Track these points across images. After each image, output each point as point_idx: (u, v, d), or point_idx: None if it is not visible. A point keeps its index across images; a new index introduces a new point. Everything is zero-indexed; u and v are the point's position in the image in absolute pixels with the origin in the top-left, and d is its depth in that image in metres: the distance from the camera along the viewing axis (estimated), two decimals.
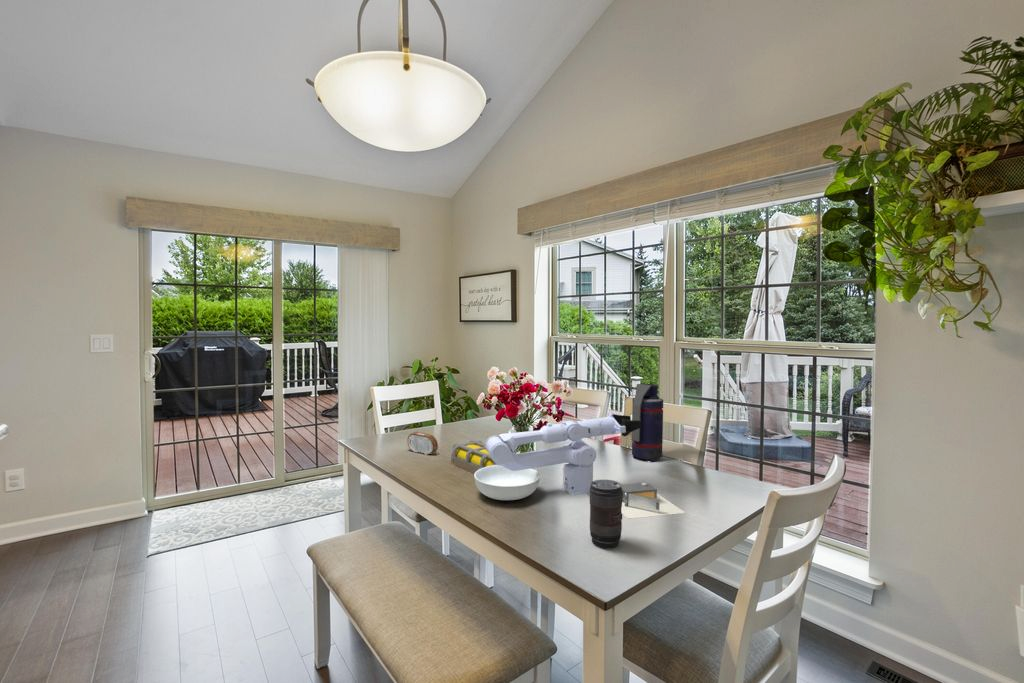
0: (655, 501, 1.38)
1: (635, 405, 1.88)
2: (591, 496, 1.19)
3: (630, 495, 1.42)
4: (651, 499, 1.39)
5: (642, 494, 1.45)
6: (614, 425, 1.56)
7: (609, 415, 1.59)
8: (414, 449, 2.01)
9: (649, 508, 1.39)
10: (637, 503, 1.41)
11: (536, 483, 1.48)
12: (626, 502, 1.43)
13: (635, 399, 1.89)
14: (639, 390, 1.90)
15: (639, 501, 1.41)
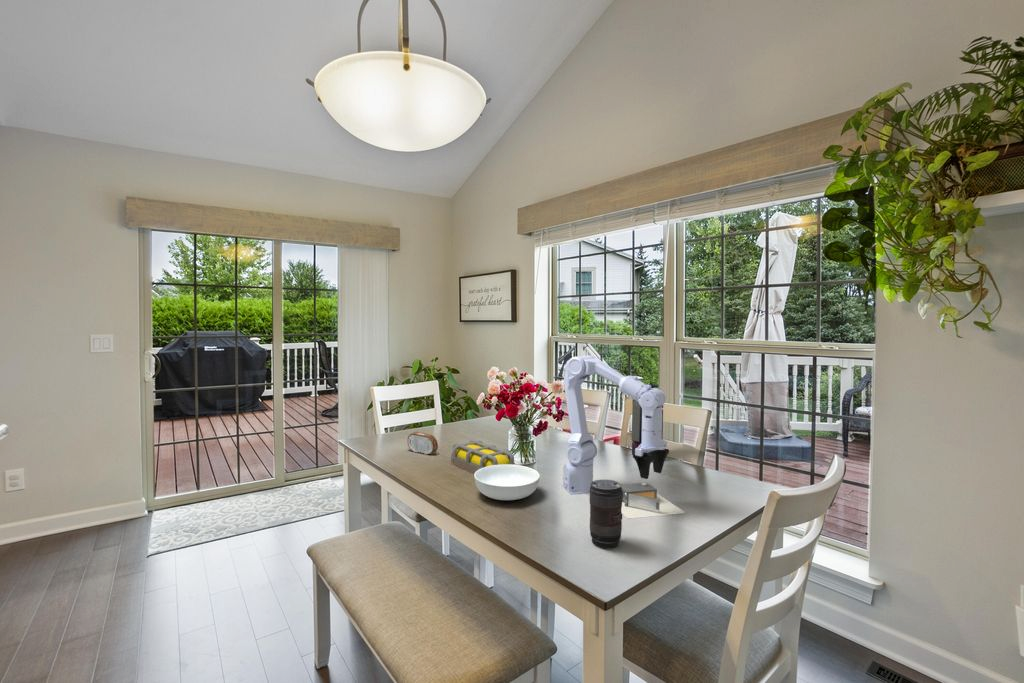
0: (655, 501, 1.38)
1: (635, 405, 1.88)
2: (591, 496, 1.19)
3: (630, 495, 1.42)
4: (651, 499, 1.39)
5: (642, 494, 1.45)
6: (647, 447, 1.39)
7: (661, 446, 1.39)
8: (414, 449, 2.01)
9: (649, 508, 1.39)
10: (637, 503, 1.41)
11: (536, 483, 1.48)
12: (626, 502, 1.43)
13: None
14: None
15: (639, 501, 1.41)
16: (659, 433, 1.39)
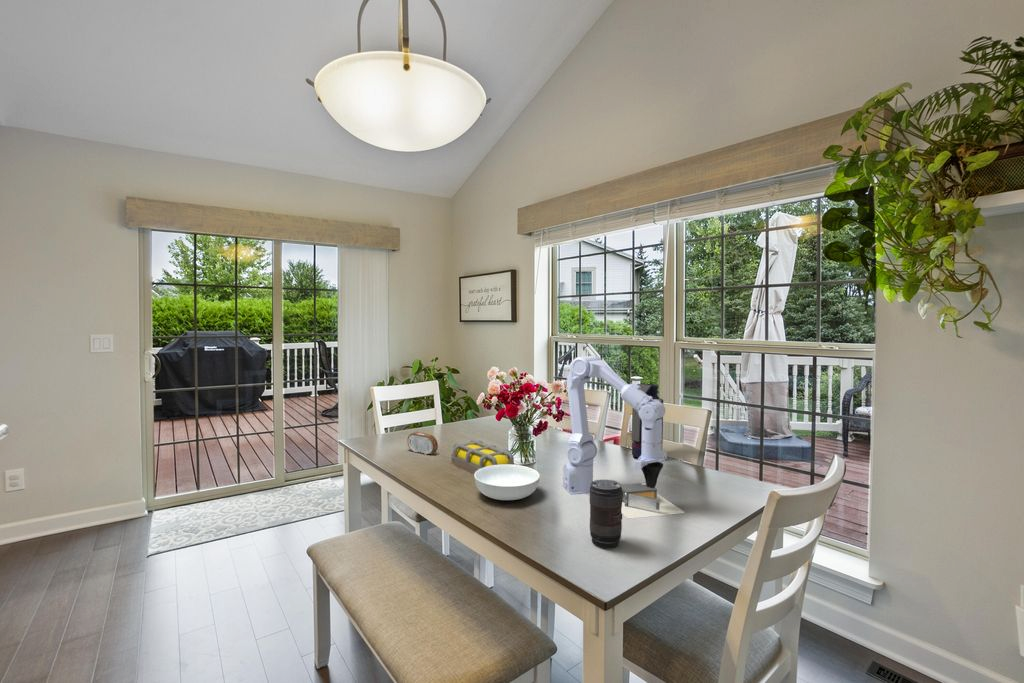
0: (655, 501, 1.38)
1: None
2: (591, 496, 1.19)
3: (630, 495, 1.42)
4: (651, 499, 1.39)
5: (642, 494, 1.45)
6: (647, 459, 1.39)
7: (661, 458, 1.39)
8: (414, 449, 2.01)
9: (649, 508, 1.39)
10: (637, 503, 1.41)
11: (536, 483, 1.48)
12: (626, 502, 1.43)
13: None
14: None
15: (639, 501, 1.41)
16: (659, 445, 1.39)
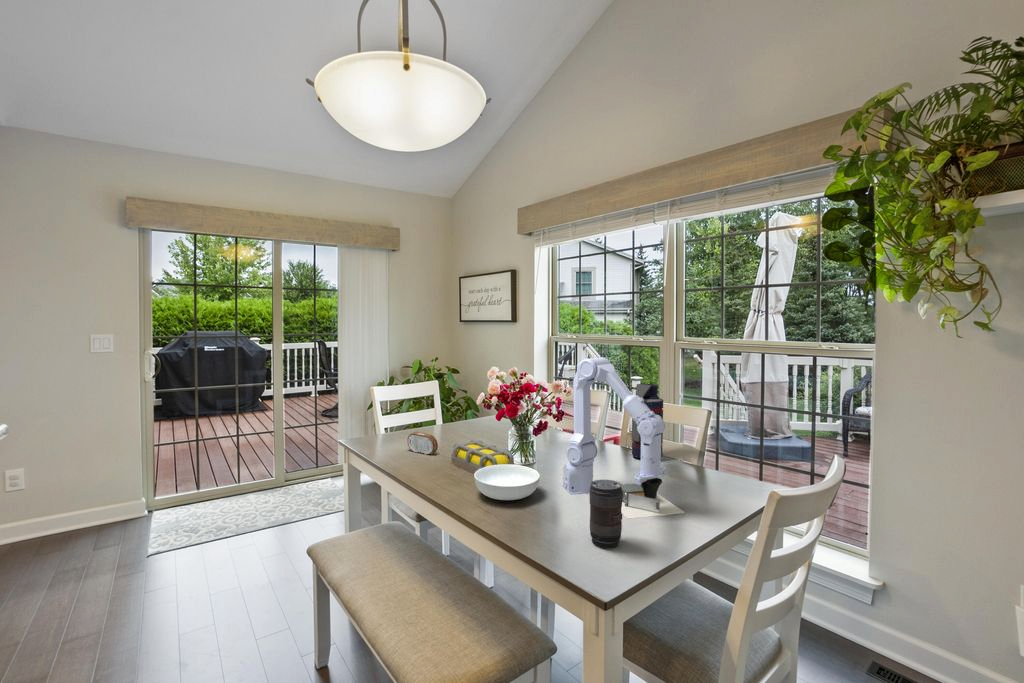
0: (655, 501, 1.38)
1: None
2: (591, 496, 1.19)
3: (630, 495, 1.42)
4: (651, 499, 1.39)
5: (642, 494, 1.45)
6: (646, 475, 1.38)
7: (660, 474, 1.38)
8: (414, 449, 2.01)
9: (649, 508, 1.39)
10: (637, 504, 1.41)
11: (536, 483, 1.48)
12: (626, 502, 1.43)
13: None
14: (639, 390, 1.90)
15: (639, 501, 1.41)
16: (658, 461, 1.38)
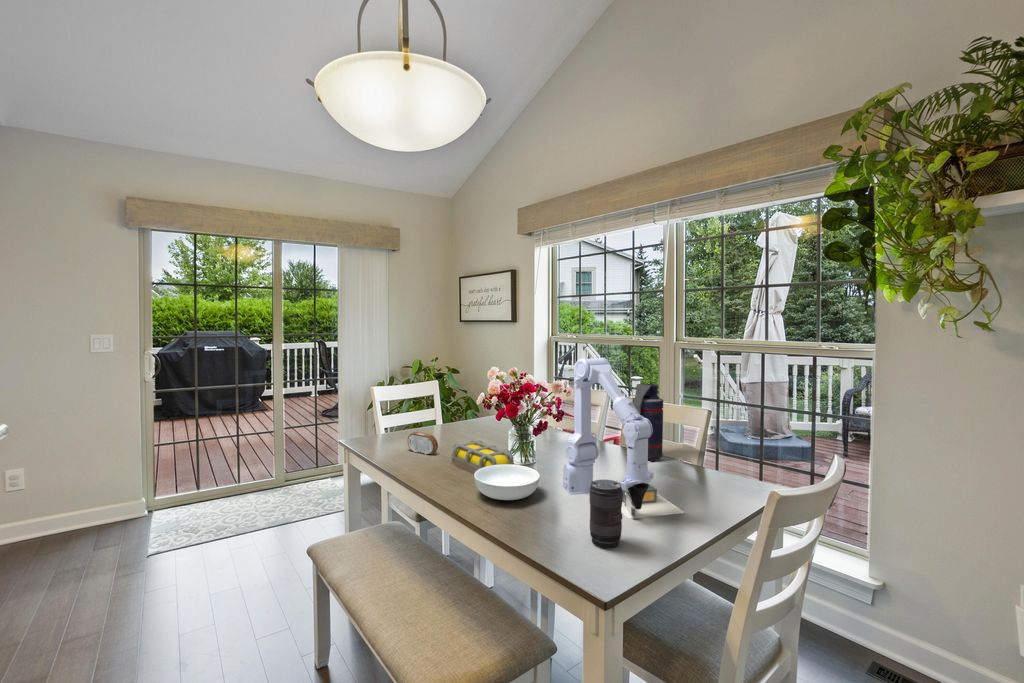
0: (631, 506, 1.34)
1: (635, 405, 1.88)
2: (591, 496, 1.19)
3: (626, 495, 1.42)
4: (631, 503, 1.36)
5: None
6: (633, 480, 1.34)
7: (647, 479, 1.34)
8: (414, 449, 2.01)
9: (630, 512, 1.36)
10: (627, 505, 1.40)
11: (536, 483, 1.48)
12: (625, 502, 1.43)
13: (635, 399, 1.89)
14: (639, 390, 1.90)
15: (628, 503, 1.39)
16: (645, 465, 1.33)
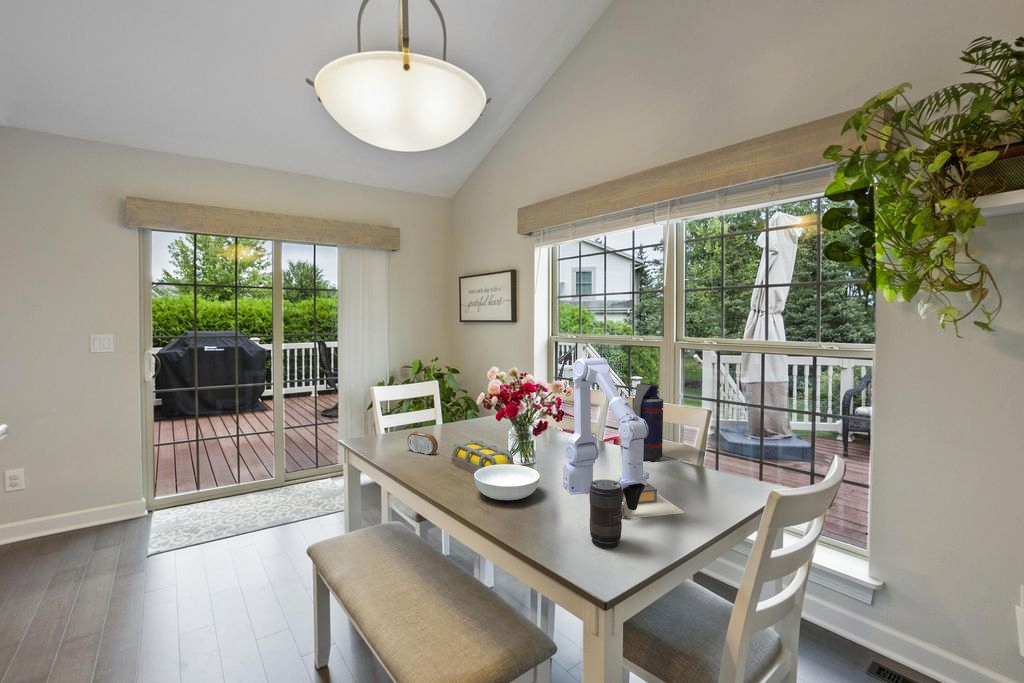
0: (622, 505, 1.35)
1: (635, 405, 1.88)
2: (591, 496, 1.19)
3: None
4: (622, 503, 1.36)
5: (642, 494, 1.45)
6: (628, 480, 1.33)
7: (643, 479, 1.34)
8: (414, 449, 2.01)
9: None
10: None
11: (536, 483, 1.48)
12: None
13: (635, 399, 1.89)
14: (639, 390, 1.90)
15: None
16: (640, 466, 1.33)
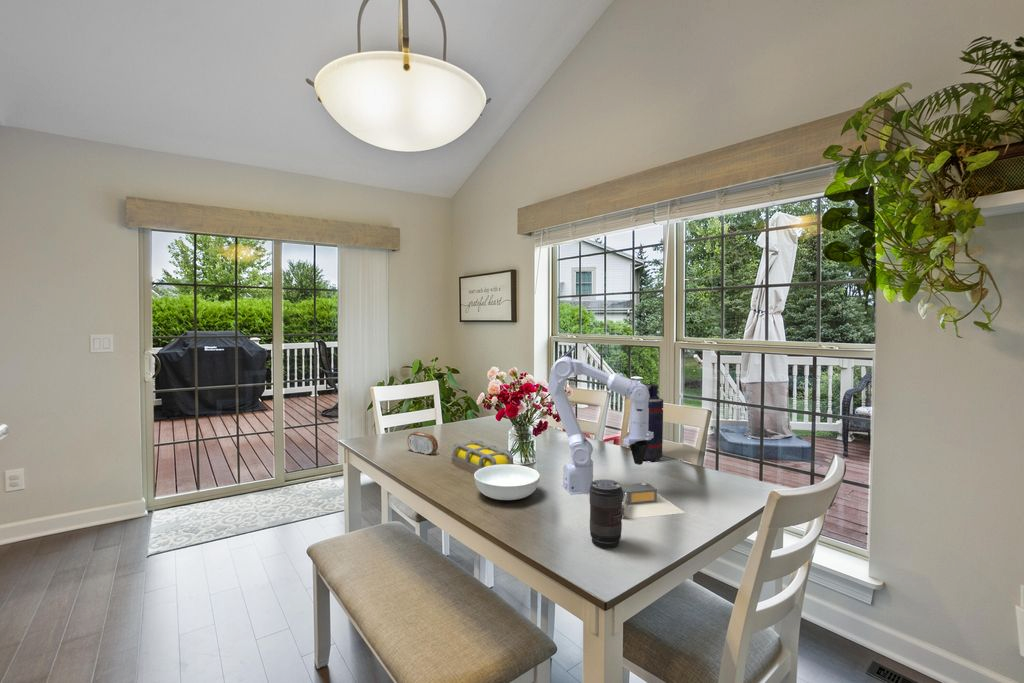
0: (622, 505, 1.35)
1: None
2: (591, 496, 1.19)
3: (625, 495, 1.42)
4: (622, 503, 1.36)
5: (642, 494, 1.45)
6: (635, 437, 1.50)
7: (648, 437, 1.50)
8: (414, 449, 2.01)
9: None
10: None
11: (536, 483, 1.48)
12: None
13: None
14: None
15: None
16: (646, 424, 1.50)
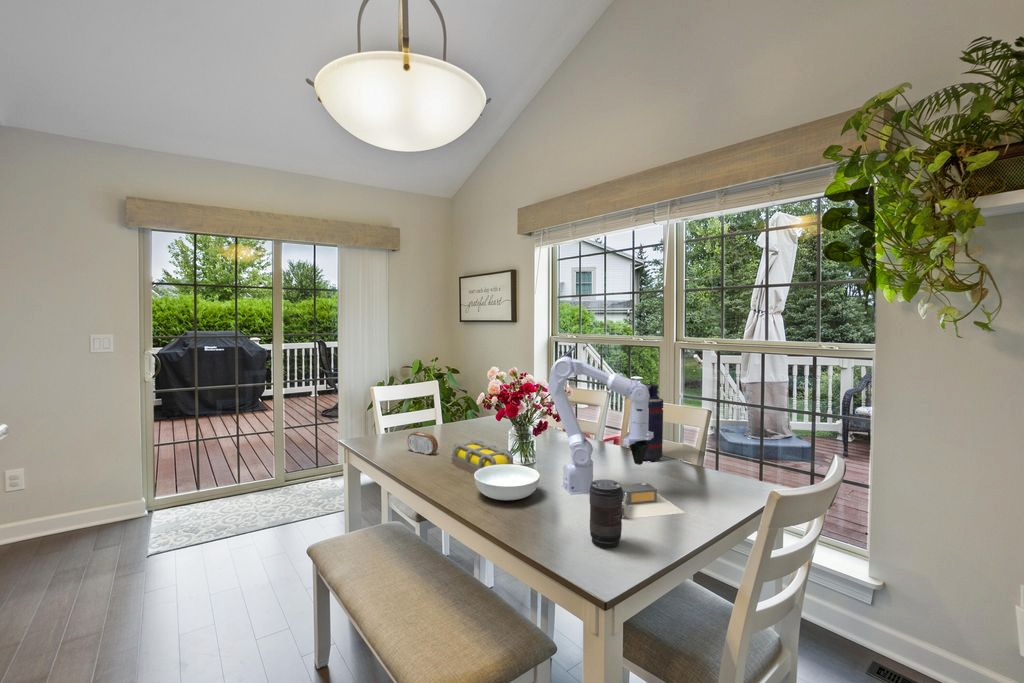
0: (622, 505, 1.35)
1: None
2: (591, 496, 1.19)
3: (625, 495, 1.42)
4: (622, 503, 1.36)
5: (642, 494, 1.45)
6: (635, 437, 1.50)
7: (648, 437, 1.50)
8: (414, 449, 2.01)
9: None
10: None
11: (536, 483, 1.48)
12: None
13: None
14: None
15: None
16: (646, 424, 1.50)
